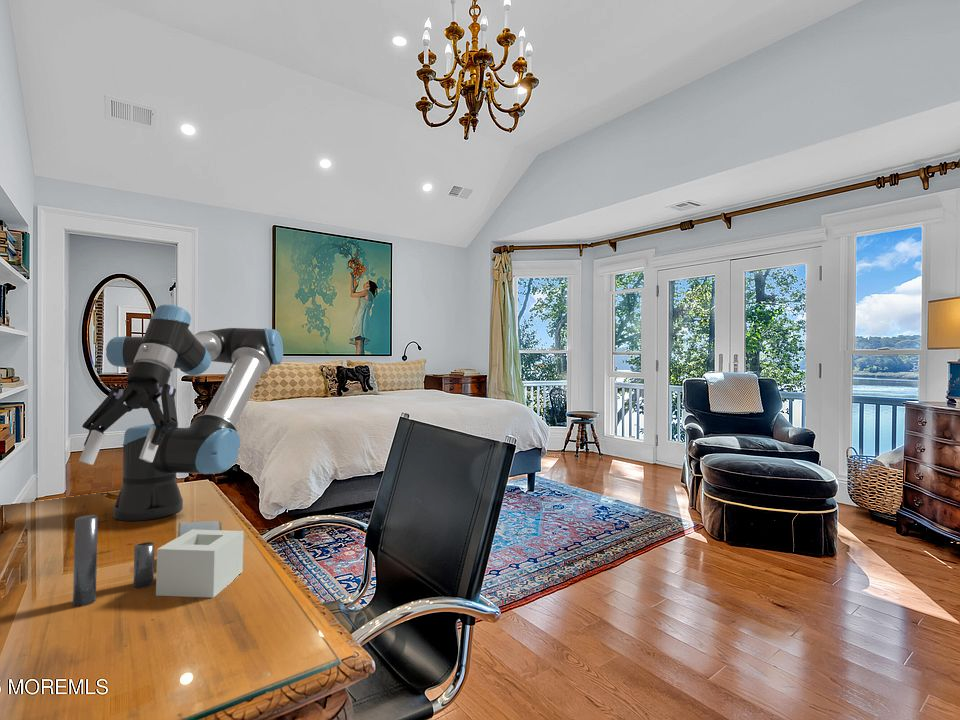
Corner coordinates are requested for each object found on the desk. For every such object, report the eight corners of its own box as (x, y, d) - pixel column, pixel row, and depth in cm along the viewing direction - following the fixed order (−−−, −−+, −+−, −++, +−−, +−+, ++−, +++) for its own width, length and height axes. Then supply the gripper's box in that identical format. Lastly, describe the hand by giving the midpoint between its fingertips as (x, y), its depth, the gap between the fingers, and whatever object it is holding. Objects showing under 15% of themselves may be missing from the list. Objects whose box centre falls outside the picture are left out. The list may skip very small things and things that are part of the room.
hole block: (191, 571, 95) (192, 529, 95) (242, 572, 95) (243, 531, 95) (155, 595, 85) (157, 549, 85) (213, 597, 85) (214, 550, 85)
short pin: (141, 580, 91) (142, 542, 91) (157, 580, 91) (158, 542, 91) (129, 587, 88) (130, 548, 88) (145, 588, 88) (147, 548, 88)
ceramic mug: (223, 560, 101) (224, 522, 101) (175, 568, 96) (177, 528, 96) (219, 544, 110) (220, 509, 110) (175, 551, 105) (176, 514, 105)
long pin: (83, 597, 84) (85, 514, 84) (100, 598, 84) (102, 515, 84) (67, 606, 81) (70, 520, 81) (85, 606, 81) (88, 521, 81)
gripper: (88, 363, 108) (44, 457, 98) (191, 355, 104) (157, 452, 94) (116, 379, 115) (77, 469, 104) (214, 372, 111) (184, 465, 100)
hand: (115, 461), depth 99 cm, fingers open, 13 cm apart
